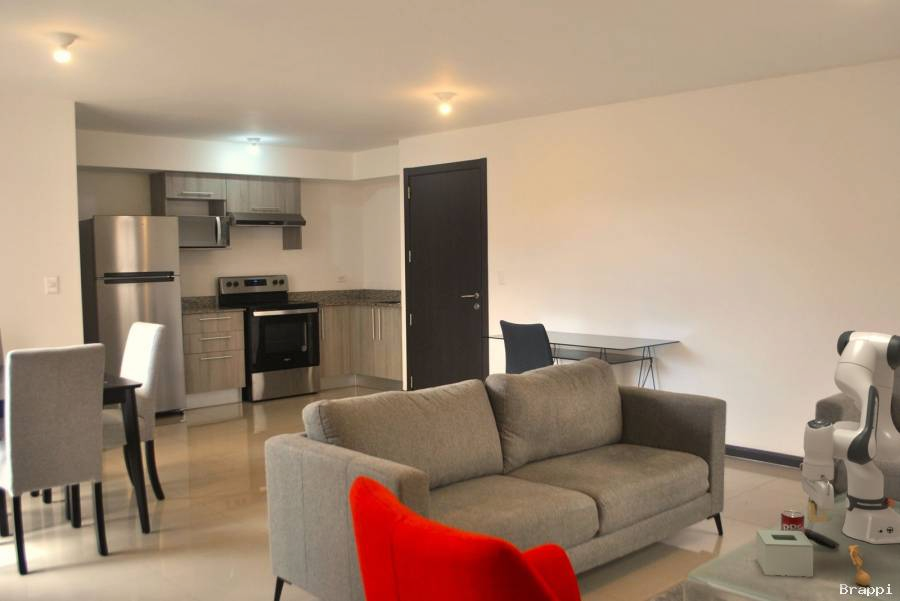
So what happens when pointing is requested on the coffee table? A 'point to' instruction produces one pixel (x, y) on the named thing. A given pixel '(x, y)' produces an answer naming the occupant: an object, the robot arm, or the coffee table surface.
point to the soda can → (792, 521)
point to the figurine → (861, 576)
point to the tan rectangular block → (812, 513)
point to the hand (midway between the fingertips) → (817, 514)
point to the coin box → (784, 553)
